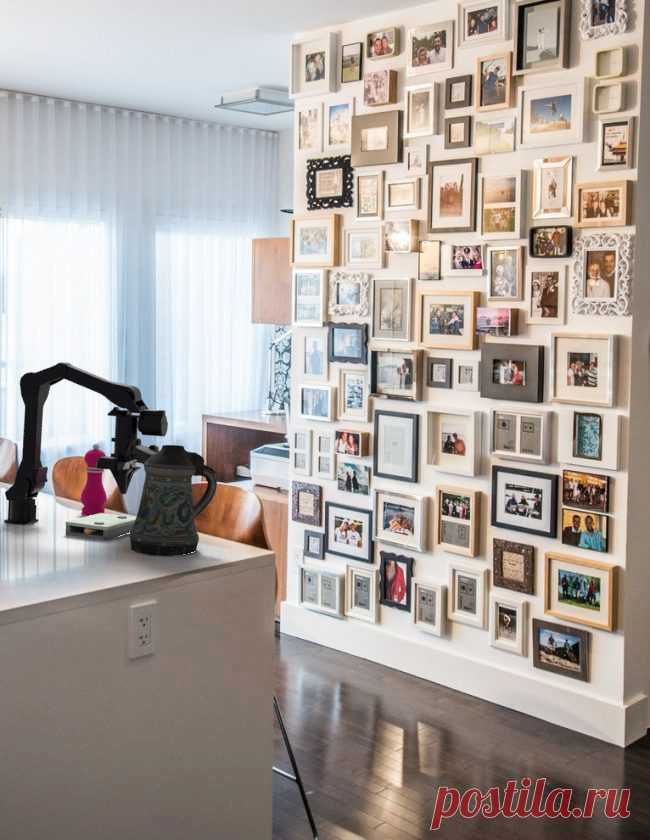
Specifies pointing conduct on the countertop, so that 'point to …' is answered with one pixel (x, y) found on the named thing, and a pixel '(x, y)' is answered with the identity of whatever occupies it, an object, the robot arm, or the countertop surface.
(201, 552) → the countertop surface
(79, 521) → the cover
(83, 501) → the pepper mill
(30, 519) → the robot arm
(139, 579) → the countertop surface
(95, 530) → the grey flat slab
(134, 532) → the beer stein
